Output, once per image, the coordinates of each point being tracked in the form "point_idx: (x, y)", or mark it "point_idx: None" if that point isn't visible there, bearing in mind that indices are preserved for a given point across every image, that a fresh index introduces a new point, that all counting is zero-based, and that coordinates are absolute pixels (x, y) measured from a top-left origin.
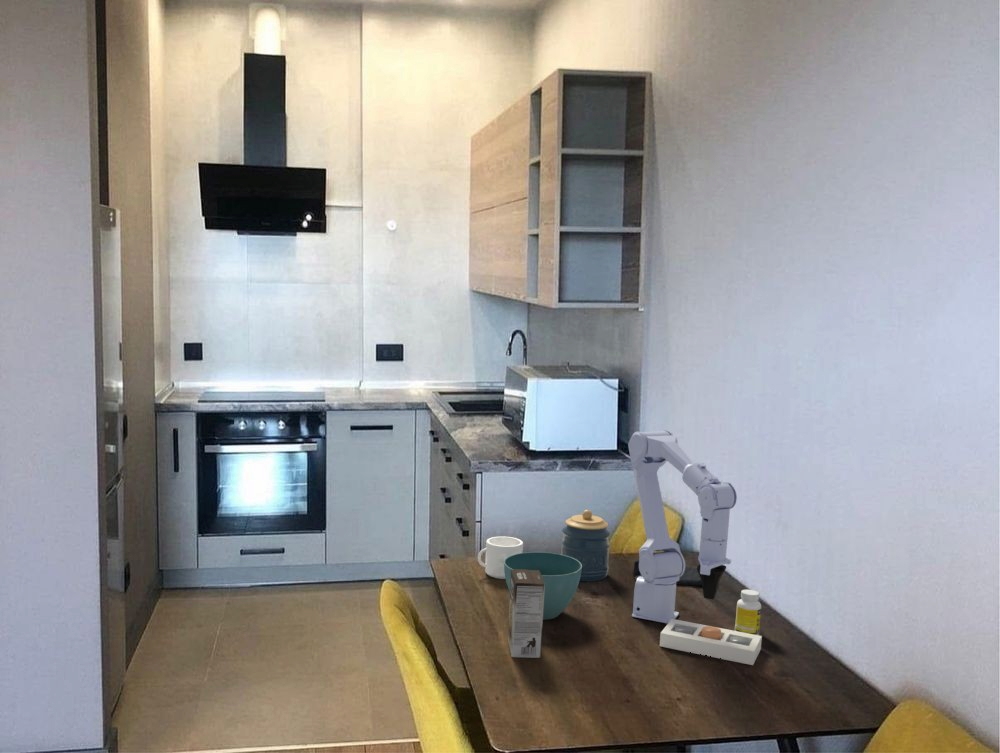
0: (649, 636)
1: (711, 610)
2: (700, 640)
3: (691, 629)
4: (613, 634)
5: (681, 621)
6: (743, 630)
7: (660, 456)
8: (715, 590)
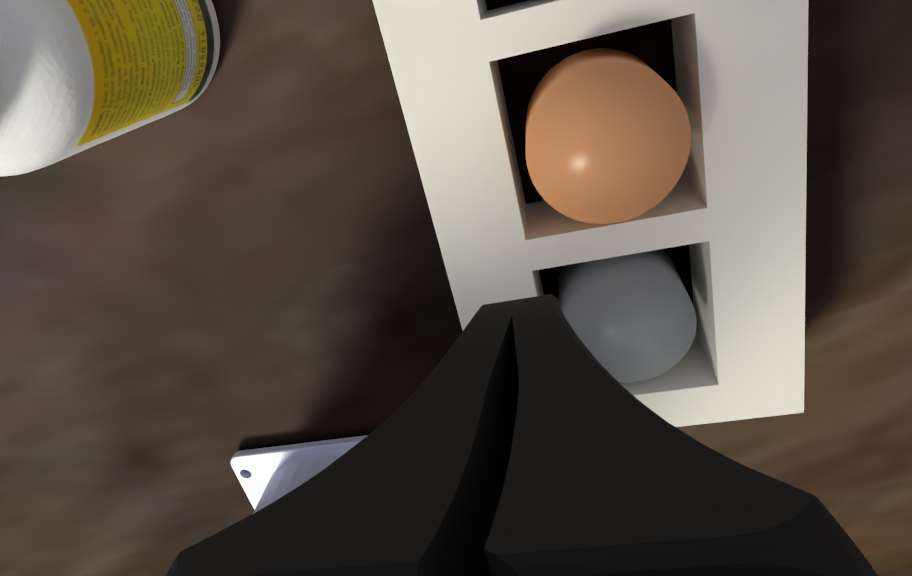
0: None
1: (16, 353)
2: (800, 147)
3: (599, 290)
4: None
5: None
6: (198, 18)
7: None
8: (582, 342)
